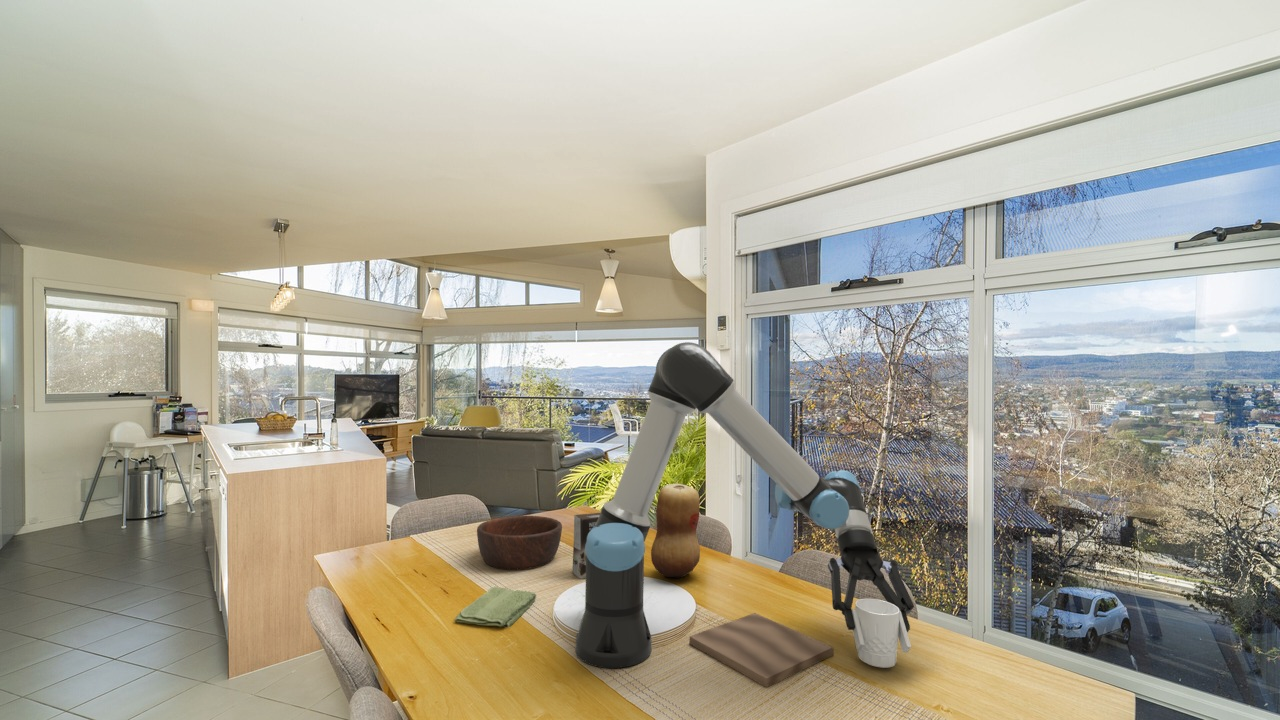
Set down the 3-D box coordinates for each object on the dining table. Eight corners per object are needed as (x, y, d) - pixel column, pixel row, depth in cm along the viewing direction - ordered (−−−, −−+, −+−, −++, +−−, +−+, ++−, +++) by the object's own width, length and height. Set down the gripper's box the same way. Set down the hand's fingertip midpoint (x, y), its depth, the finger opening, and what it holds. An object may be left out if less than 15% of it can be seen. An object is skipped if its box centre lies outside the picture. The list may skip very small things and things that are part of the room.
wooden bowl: (553, 574, 153) (554, 537, 153) (464, 573, 153) (465, 535, 153) (566, 548, 178) (567, 515, 178) (489, 546, 178) (490, 514, 178)
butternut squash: (685, 588, 143) (686, 491, 144) (641, 578, 150) (643, 486, 151) (708, 573, 155) (709, 484, 156) (666, 564, 162) (667, 479, 163)
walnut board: (766, 687, 97) (766, 678, 97) (689, 643, 113) (689, 636, 113) (833, 654, 109) (832, 647, 109) (754, 619, 125) (754, 612, 125)
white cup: (904, 672, 101) (904, 616, 101) (858, 666, 103) (859, 612, 103) (893, 652, 109) (893, 600, 109) (851, 647, 110) (851, 596, 111)
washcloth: (451, 626, 120) (452, 611, 120) (492, 596, 137) (492, 583, 138) (506, 633, 117) (506, 617, 117) (540, 602, 134) (540, 588, 134)
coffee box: (580, 579, 149) (581, 519, 149) (572, 572, 154) (573, 514, 155) (611, 574, 153) (612, 516, 154) (601, 567, 159) (602, 511, 159)
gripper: (898, 547, 121) (933, 658, 104) (803, 543, 122) (823, 653, 105) (908, 529, 116) (947, 643, 99) (810, 525, 117) (832, 637, 100)
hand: (883, 648), depth 102 cm, fingers closed on white cup, 8 cm apart
